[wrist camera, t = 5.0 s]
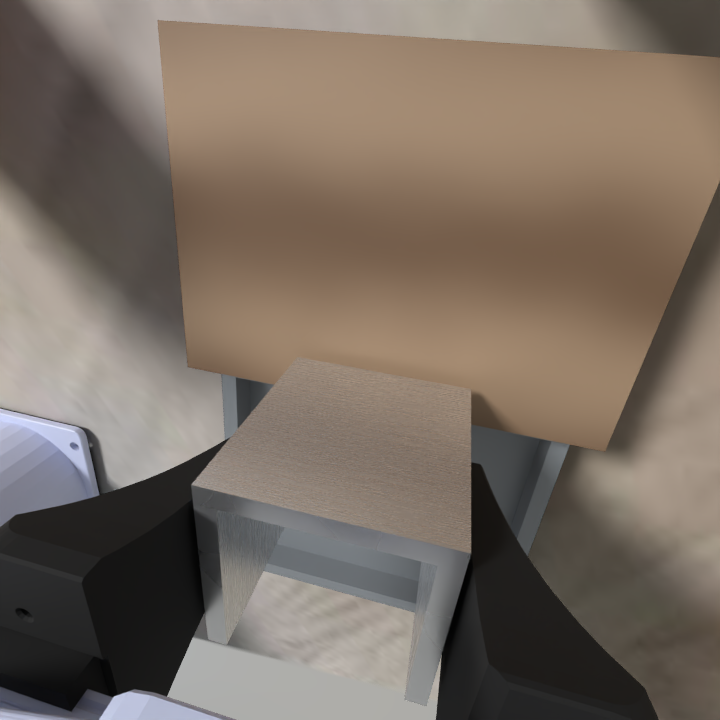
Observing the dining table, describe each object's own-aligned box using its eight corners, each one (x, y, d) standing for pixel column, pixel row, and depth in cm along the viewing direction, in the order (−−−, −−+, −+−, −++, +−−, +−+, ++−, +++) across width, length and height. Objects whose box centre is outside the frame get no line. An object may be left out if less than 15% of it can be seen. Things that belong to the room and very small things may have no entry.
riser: (582, 402, 16) (604, 451, 13) (228, 336, 18) (187, 367, 16) (702, 82, 12) (771, 60, 9) (217, 45, 14) (157, 20, 11)
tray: (495, 603, 21) (497, 635, 20) (245, 536, 23) (231, 561, 22) (565, 406, 16) (574, 430, 15) (240, 345, 18) (221, 360, 17)
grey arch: (441, 513, 15) (426, 706, 10) (294, 478, 16) (208, 639, 11) (471, 389, 13) (471, 553, 8) (297, 356, 14) (191, 485, 9)
